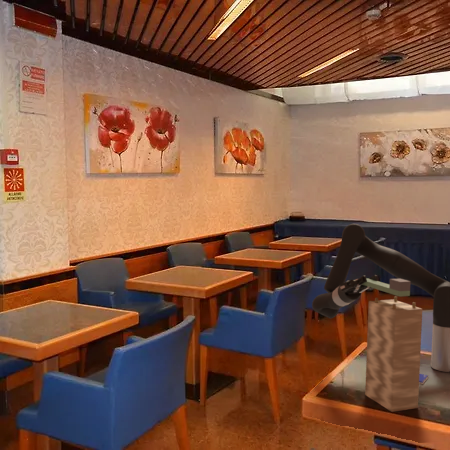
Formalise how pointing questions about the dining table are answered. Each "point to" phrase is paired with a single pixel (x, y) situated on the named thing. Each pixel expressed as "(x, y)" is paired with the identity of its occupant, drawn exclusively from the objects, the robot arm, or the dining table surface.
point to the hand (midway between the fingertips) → (371, 278)
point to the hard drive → (422, 378)
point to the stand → (393, 354)
